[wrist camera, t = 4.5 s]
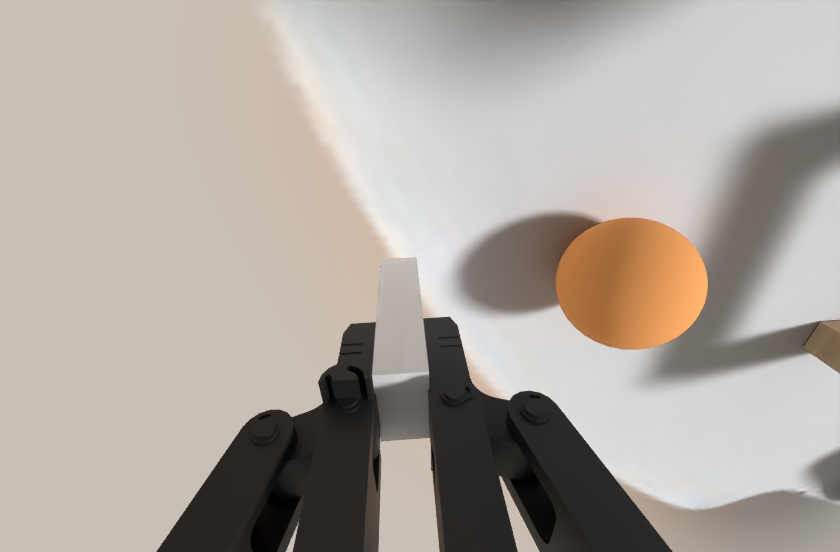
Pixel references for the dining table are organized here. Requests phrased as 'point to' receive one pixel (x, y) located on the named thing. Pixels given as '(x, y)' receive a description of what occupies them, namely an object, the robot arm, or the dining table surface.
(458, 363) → the robot arm
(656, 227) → the ball
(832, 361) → the bridge
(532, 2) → the dining table surface
